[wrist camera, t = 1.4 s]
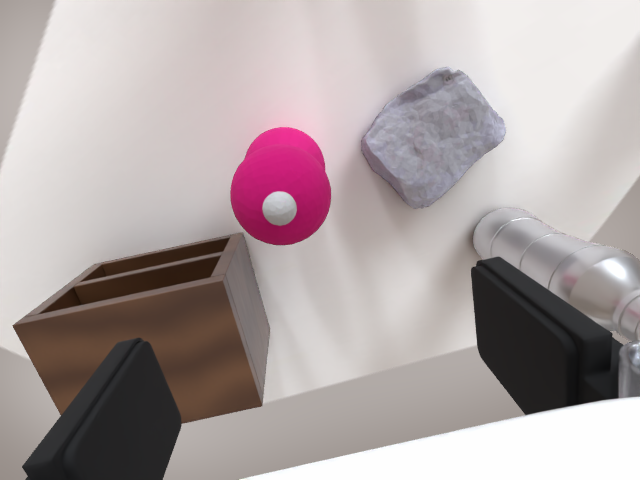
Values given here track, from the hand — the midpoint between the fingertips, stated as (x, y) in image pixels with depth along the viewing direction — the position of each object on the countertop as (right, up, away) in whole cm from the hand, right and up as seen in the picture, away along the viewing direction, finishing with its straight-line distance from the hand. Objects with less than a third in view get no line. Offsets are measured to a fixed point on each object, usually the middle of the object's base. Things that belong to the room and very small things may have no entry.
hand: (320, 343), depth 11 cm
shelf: (-15, -3, +31) cm, 34 cm away
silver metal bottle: (+19, +4, +31) cm, 37 cm away
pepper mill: (-3, +11, +27) cm, 29 cm away
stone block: (+10, +14, +27) cm, 32 cm away
